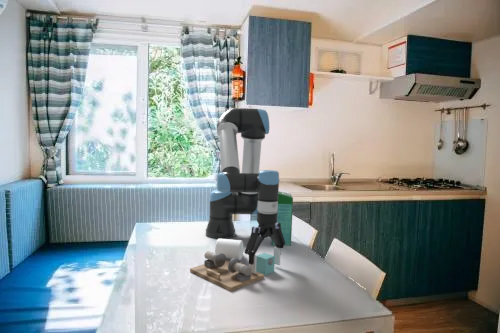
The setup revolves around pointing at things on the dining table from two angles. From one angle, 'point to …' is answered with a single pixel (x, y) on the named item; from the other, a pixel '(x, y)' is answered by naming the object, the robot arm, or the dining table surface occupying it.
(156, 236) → the dining table surface
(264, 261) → the block
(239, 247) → the mug
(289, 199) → the milk carton
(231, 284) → the shaft board
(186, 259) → the dining table surface
